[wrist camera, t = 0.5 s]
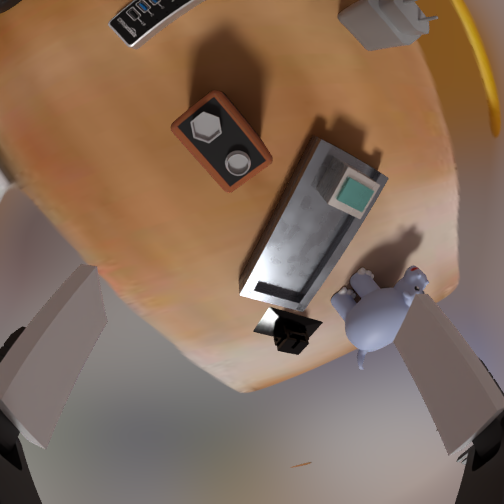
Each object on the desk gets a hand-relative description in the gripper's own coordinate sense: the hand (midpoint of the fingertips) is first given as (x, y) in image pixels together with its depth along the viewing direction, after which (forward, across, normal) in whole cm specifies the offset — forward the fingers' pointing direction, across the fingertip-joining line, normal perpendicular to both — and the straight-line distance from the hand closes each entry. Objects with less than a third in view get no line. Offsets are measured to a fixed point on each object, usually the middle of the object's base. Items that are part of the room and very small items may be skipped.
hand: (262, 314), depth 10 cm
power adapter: (+20, +9, +20) cm, 30 cm away
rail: (+22, +7, -4) cm, 23 cm away
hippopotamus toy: (+24, +20, -13) cm, 34 cm away
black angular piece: (+25, +8, -21) cm, 33 cm away
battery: (+20, -3, +6) cm, 21 cm away
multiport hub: (+19, -11, +20) cm, 29 cm away
